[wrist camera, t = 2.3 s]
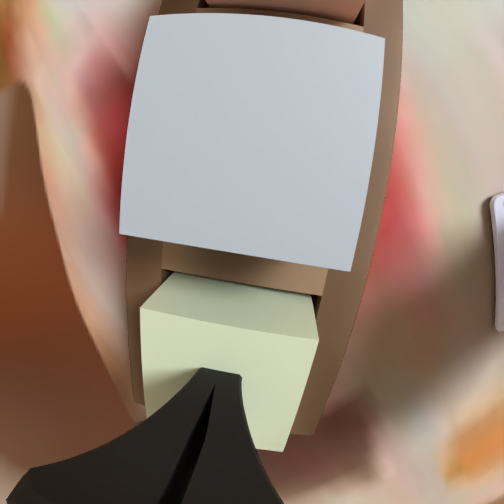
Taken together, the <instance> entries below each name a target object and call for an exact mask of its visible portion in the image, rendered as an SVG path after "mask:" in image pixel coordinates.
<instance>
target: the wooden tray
mask: <svg viewBox="0 0 504 504" xmlns="http://www.w3.org/2000/svg"><path fill="white" fill-rule="evenodd" d="M188 13H230V14H250V15H263V16H273V17H282V18H291V19H298V20H305V21H311V22H317V23H322V24H328V25H333V26H338V27H342V28H347V29H351V30H355V31H360V32H364V33H367V34H371V35H375V36H378V37H382V38H385V49H384V65H383V77H382V89H381V99H380V108H379V117H378V125H377V133H376V140H375V147H374V154H373V160H372V167H371V173H370V179H369V185H368V190H367V196H366V201H365V206H364V212H363V217H362V222H361V226H360V231H359V236H358V240H357V245H356V249H355V254H354V258H353V262H352V267H351V271H350V272H348V271H342V270H336V269H330V268H324V267H317V266H311V265H305V264H299V263H293V262H287V261H281V260H274V259H268V258H262V257H256V256H250V255H244V254H238V253H232V252H226V251H220V250H213V249H207V248H201V247H195V246H189V245H183V244H177V243H171V242H165V241H159V240H153V239H147V238H141V237H135V236H129V235H127V319H128V339H129V354H130V367H131V378H132V388H133V397H134V402H137V403H140V404H143V405H145V400H144V388H143V374H142V357H141V333H140V307H141V306H142V305H143V304H144V303H145V302H146V301H147V299H148V298H149V297H150V296H151V295H152V294H153V293H154V292H155V291H156V290H157V289H158V288H159V287H160V286H161V285H162V284H163V283H164V282H165V281H166V280H167V279H168V278H169V277H170V276H171V274H172V273H173V272H174V271H177V272H182V273H188V274H193V275H199V276H204V277H210V278H216V279H221V280H227V281H233V282H239V283H245V284H250V285H256V286H262V287H269V288H275V289H281V290H287V291H294V292H300V293H306V294H311V298H312V303H313V308H314V314H315V320H316V325H317V331H318V337H319V342H318V346H317V349H316V353H315V356H314V360H313V363H312V366H311V370H310V373H309V376H308V379H307V383H306V386H305V389H304V392H303V395H302V398H301V401H300V404H299V407H298V410H297V413H296V416H295V419H294V422H293V425H292V428H291V431H290V434H296V435H306V436H313V435H314V432H315V430H316V428H317V425H318V423H319V420H320V418H321V415H322V413H323V410H324V408H325V405H326V403H327V400H328V398H329V395H330V392H331V390H332V387H333V384H334V382H335V379H336V376H337V373H338V371H339V368H340V365H341V362H342V359H343V356H344V353H345V350H346V347H347V344H348V341H349V338H350V335H351V332H352V328H353V325H354V322H355V319H356V315H357V312H358V308H359V305H360V301H361V298H362V294H363V291H364V287H365V283H366V280H367V276H368V272H369V268H370V264H371V260H372V256H373V252H374V248H375V243H376V239H377V234H378V230H379V225H380V220H381V216H382V211H383V206H384V201H385V195H386V190H387V184H388V178H389V172H390V166H391V160H392V153H393V146H394V139H395V131H396V123H397V114H398V104H399V93H400V81H401V65H402V42H403V0H365V2H364V4H363V6H362V8H361V10H360V11H359V13H358V15H357V17H356V19H355V21H354V23H353V24H352V23H348V22H343V21H339V20H334V19H329V18H323V17H318V16H312V15H306V14H299V13H292V12H284V11H275V10H264V9H251V8H229V7H209V5H208V4H207V2H206V0H163V1H162V4H161V8H160V12H159V15H168V14H188Z"/></svg>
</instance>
